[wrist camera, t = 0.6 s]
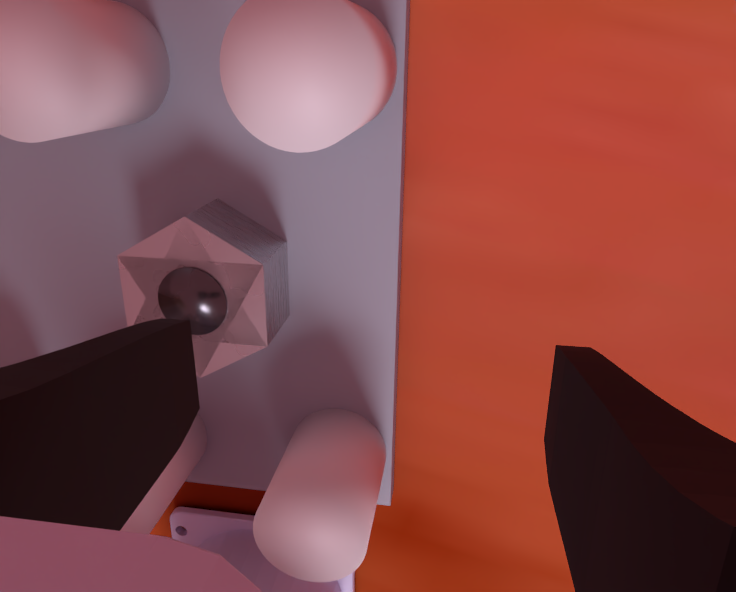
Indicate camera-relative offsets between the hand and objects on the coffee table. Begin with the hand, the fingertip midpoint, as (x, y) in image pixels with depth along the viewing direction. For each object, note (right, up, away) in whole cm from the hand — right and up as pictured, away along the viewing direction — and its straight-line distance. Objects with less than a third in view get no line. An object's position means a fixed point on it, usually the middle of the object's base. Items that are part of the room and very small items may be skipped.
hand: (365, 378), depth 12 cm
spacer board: (-10, +3, +11) cm, 15 cm away
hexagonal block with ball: (-5, +2, +9) cm, 11 cm away
